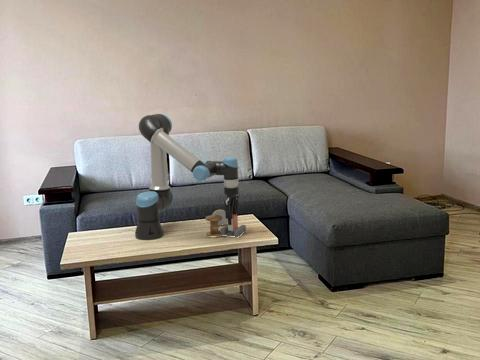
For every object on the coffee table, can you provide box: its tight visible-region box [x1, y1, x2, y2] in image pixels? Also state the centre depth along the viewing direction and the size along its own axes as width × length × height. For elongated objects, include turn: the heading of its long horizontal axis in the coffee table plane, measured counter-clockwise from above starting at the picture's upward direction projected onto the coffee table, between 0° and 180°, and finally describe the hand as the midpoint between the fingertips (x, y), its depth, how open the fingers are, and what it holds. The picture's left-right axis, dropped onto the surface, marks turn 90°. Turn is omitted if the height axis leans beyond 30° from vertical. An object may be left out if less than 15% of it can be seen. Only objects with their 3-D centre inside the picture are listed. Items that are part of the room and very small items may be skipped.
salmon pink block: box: [232, 214, 239, 231], centre depth 269 cm, size 4×4×8 cm
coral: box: [211, 209, 228, 226], centre depth 290 cm, size 10×10×10 cm
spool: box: [205, 214, 222, 237], centre depth 270 cm, size 9×9×10 cm
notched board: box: [220, 224, 247, 237], centre depth 271 cm, size 10×11×4 cm
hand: (232, 229), depth 270 cm, fingers closed on salmon pink block, 4 cm apart
